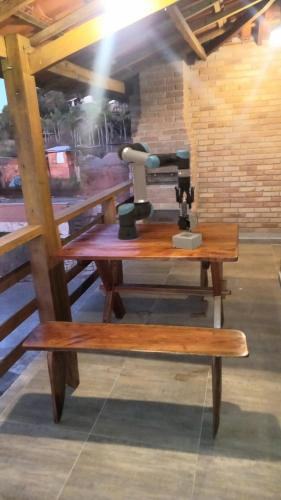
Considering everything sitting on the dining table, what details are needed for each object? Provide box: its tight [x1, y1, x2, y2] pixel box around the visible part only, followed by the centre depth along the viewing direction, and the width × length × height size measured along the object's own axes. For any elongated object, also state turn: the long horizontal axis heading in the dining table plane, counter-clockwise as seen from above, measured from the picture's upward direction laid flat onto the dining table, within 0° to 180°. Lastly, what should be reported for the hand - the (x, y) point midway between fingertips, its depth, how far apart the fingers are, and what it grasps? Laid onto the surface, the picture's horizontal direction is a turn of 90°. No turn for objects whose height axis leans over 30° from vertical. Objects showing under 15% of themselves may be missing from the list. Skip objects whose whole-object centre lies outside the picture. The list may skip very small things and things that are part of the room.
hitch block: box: [171, 231, 203, 251], centre depth 245 cm, size 14×13×7 cm
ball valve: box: [177, 211, 199, 233], centre depth 263 cm, size 18×8×18 cm, turn 148°
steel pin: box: [181, 196, 189, 217], centre depth 238 cm, size 4×4×12 cm
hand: (185, 213), depth 239 cm, fingers closed on steel pin, 4 cm apart
